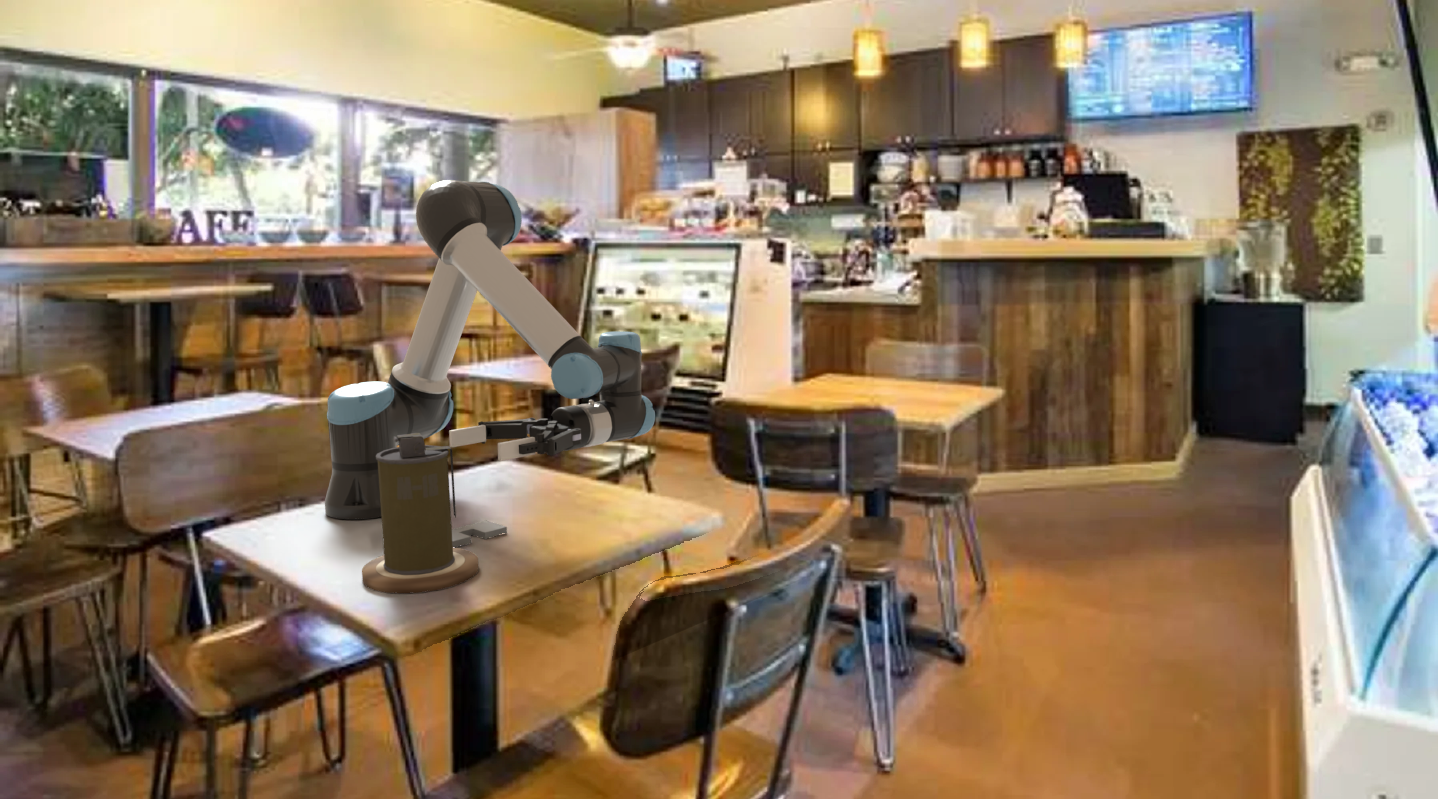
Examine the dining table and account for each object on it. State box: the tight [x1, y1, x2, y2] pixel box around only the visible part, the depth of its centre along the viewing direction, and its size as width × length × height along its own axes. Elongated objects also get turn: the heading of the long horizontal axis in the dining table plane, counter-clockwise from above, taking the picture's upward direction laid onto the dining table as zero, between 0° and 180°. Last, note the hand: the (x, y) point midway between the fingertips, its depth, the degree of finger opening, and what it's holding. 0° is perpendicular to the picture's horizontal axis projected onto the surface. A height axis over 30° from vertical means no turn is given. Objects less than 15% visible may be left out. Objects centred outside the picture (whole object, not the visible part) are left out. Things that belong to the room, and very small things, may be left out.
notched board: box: [452, 519, 508, 548], centre depth 170 cm, size 6×12×1 cm, turn 138°
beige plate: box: [361, 547, 480, 595], centre depth 152 cm, size 17×17×2 cm
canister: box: [376, 433, 457, 575], centre depth 150 cm, size 11×10×20 cm
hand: (474, 445), depth 158 cm, fingers open, 13 cm apart
